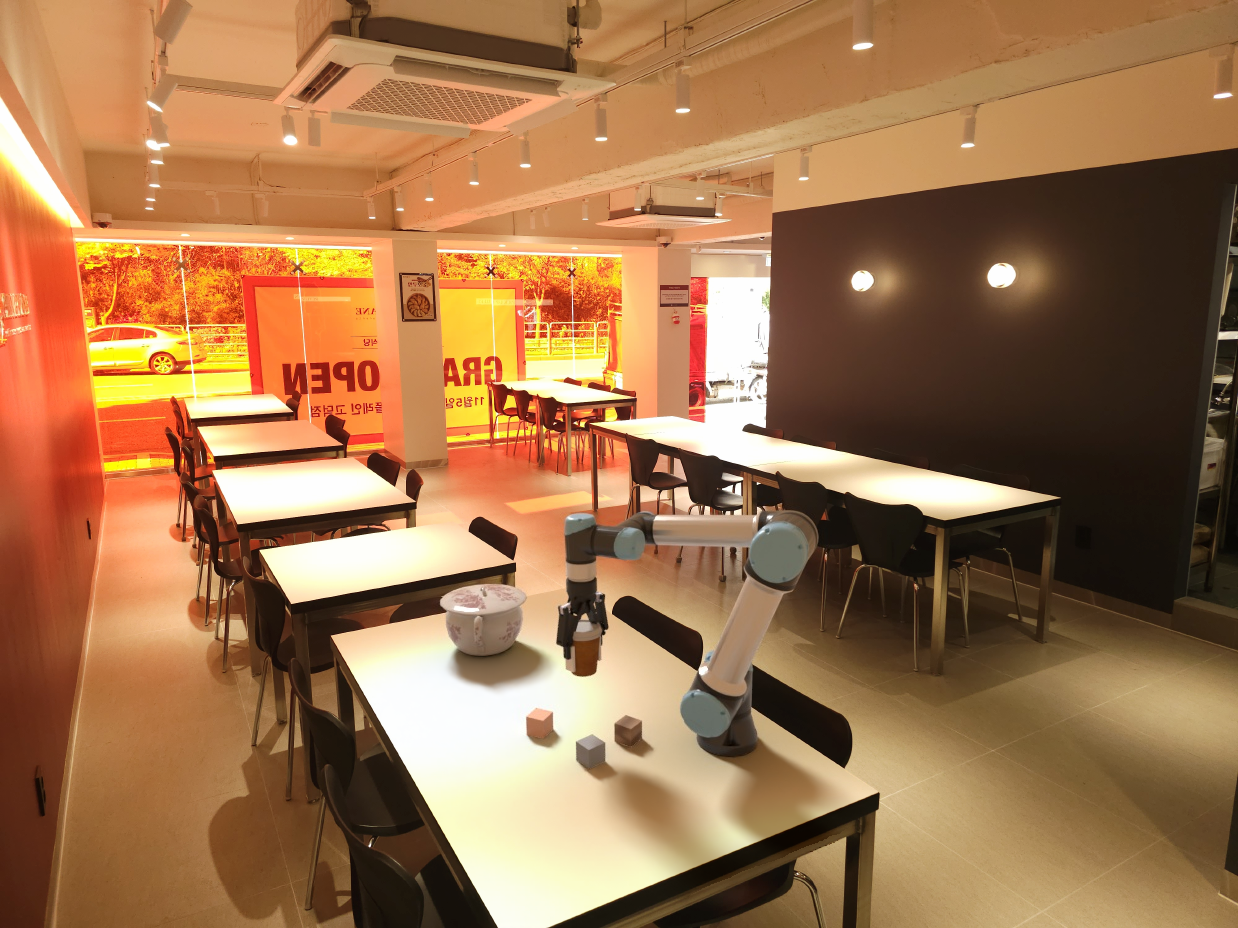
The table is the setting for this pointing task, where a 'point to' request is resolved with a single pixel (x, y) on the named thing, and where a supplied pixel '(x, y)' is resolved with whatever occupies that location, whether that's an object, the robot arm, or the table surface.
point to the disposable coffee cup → (586, 647)
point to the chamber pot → (484, 617)
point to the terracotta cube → (539, 723)
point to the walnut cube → (628, 731)
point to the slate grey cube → (590, 751)
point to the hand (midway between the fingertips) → (583, 664)
